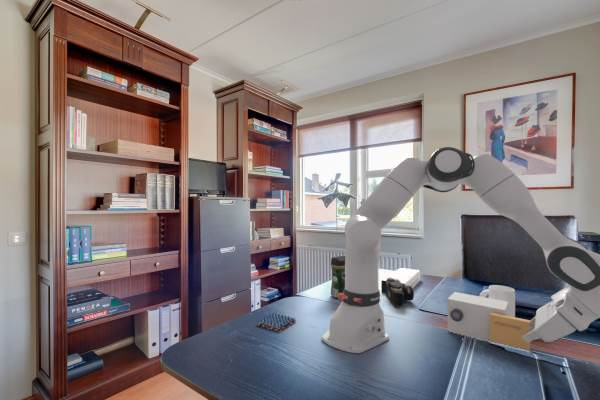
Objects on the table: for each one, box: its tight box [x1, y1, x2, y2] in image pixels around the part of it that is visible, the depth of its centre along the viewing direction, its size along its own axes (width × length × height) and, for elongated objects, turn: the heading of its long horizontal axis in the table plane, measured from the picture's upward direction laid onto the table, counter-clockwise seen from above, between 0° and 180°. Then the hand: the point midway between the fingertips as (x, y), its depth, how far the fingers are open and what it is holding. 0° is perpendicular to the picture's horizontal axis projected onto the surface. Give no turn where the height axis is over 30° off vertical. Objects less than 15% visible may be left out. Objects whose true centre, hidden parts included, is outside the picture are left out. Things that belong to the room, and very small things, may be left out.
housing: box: [446, 291, 509, 341], centre depth 96 cm, size 12×16×11 cm
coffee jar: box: [330, 255, 346, 299], centre depth 135 cm, size 10×8×19 cm
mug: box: [479, 284, 516, 317], centre depth 110 cm, size 8×12×12 cm
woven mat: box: [257, 312, 297, 333], centre depth 104 cm, size 10×11×2 cm
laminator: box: [380, 267, 421, 294], centre depth 153 cm, size 34×12×6 cm, turn 146°
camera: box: [385, 277, 415, 309], centre depth 128 cm, size 16×10×10 cm, turn 178°
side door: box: [490, 312, 531, 352], centre depth 86 cm, size 2×10×9 cm, turn 50°
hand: (525, 333), depth 83 cm, fingers open, 8 cm apart
